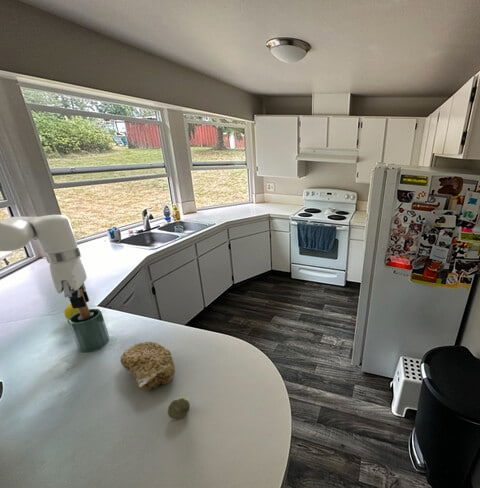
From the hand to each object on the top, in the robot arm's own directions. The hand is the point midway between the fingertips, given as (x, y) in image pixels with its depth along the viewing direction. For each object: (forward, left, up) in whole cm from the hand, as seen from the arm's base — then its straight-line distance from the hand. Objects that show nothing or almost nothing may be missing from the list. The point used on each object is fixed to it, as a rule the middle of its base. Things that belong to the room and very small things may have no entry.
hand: (81, 304), depth 84 cm
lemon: (-10, +19, -17) cm, 27 cm away
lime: (+28, -42, -17) cm, 53 cm away
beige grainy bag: (+19, -22, -17) cm, 33 cm away
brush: (0, 0, -11) cm, 11 cm away
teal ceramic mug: (0, 0, -17) cm, 17 cm away
